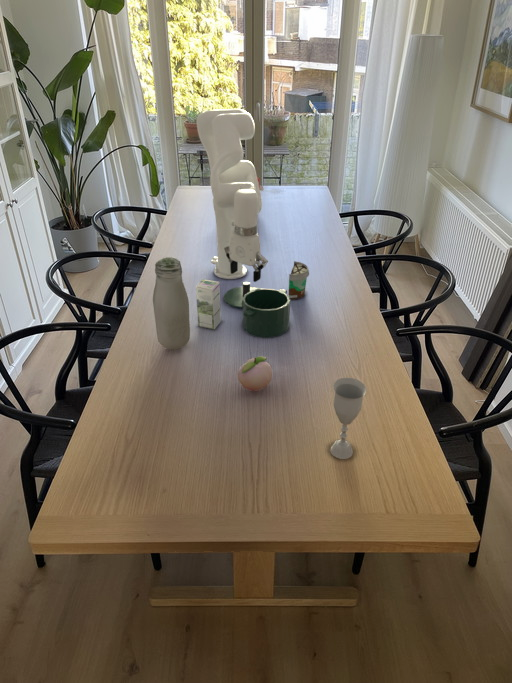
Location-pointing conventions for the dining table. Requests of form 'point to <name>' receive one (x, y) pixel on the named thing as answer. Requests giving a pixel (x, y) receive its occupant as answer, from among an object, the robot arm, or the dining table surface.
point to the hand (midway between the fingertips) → (245, 276)
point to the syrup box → (208, 304)
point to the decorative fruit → (255, 374)
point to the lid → (238, 295)
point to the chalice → (346, 411)
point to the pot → (266, 312)
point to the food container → (298, 280)
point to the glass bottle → (171, 304)
